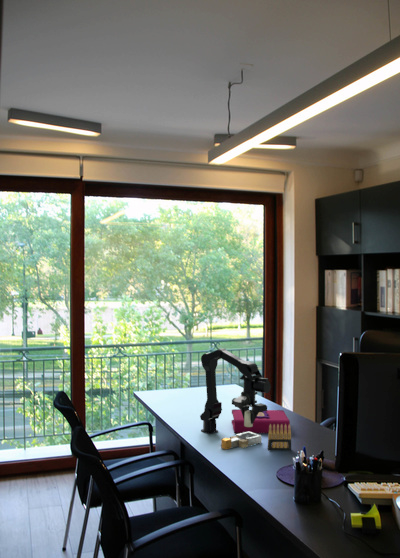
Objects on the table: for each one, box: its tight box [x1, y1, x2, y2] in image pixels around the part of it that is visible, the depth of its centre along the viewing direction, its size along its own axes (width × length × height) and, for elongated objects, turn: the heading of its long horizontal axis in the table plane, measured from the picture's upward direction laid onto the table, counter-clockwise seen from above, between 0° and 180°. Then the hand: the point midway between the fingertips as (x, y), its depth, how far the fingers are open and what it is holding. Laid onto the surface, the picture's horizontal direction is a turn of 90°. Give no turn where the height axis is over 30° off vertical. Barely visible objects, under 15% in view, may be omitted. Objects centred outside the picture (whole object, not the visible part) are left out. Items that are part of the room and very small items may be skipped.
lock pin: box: [220, 437, 241, 450], centre depth 247 cm, size 3×10×4 cm, turn 129°
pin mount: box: [229, 435, 248, 449], centre depth 250 cm, size 9×3×3 cm, turn 39°
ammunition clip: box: [267, 423, 292, 452], centre depth 244 cm, size 11×2×12 cm, turn 93°
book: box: [231, 408, 291, 435], centre depth 278 cm, size 21×28×8 cm
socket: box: [235, 431, 262, 447], centre depth 254 cm, size 9×9×4 cm
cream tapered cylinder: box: [244, 409, 253, 427], centre depth 254 cm, size 4×4×7 cm
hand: (248, 422), depth 254 cm, fingers closed on cream tapered cylinder, 4 cm apart
